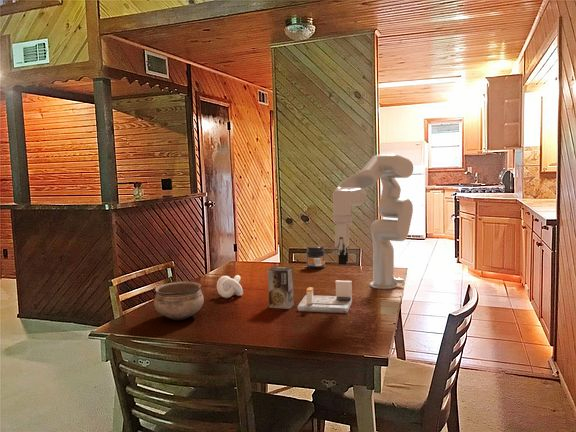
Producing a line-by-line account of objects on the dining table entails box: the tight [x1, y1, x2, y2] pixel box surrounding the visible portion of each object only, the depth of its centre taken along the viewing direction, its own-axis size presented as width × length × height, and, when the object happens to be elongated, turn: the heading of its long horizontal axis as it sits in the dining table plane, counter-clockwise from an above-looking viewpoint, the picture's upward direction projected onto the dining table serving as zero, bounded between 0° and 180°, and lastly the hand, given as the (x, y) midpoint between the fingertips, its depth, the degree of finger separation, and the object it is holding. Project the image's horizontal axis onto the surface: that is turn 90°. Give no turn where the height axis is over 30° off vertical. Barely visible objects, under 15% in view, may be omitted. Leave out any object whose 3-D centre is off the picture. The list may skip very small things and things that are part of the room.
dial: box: [335, 279, 353, 300], centre depth 199 cm, size 6×6×7 cm
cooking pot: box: [153, 281, 205, 321], centre depth 187 cm, size 25×19×12 cm
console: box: [297, 294, 353, 314], centre depth 197 cm, size 20×16×2 cm
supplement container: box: [305, 244, 326, 270], centre depth 269 cm, size 10×10×12 cm
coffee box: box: [267, 266, 295, 310], centre depth 197 cm, size 9×6×16 cm
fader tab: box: [305, 286, 314, 304], centre depth 194 cm, size 2×4×6 cm, turn 166°
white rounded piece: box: [216, 274, 244, 299], centre depth 215 cm, size 11×12×9 cm
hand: (343, 262), depth 198 cm, fingers open, 4 cm apart
